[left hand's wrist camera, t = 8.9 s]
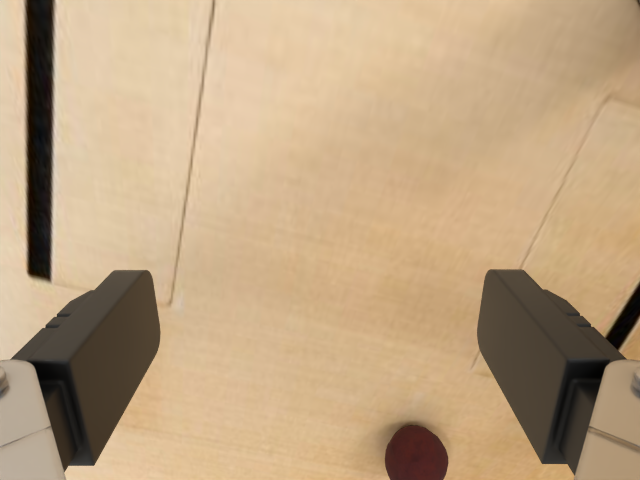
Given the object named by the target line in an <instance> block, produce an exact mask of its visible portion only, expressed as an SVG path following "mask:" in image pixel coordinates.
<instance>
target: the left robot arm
mask: <svg viewBox="0 0 640 480" xmlns="http://www.w3.org/2000/svg"><path fill="white" fill-rule="evenodd" d="M638 1H639V3H640V0H638ZM477 337H478V344H479V348H480V351H481V353H482V355H483V357H484V359H485V361H486V363H487V364H488V366H489V368H490V370H491V372H492V374H493V375H494V377H495V379H496V381H497V383H498V384H499V386H500V388H501V390H502V392H503V394H504V395H505V397H506V399H507V401H508V403H509V404H510V406H511V408H512V410H513V412H514V414H515V415H516V417H517V419H518V421H519V423H520V424H521V426H522V428H523V430H524V432H525V433H526V435H527V437H528V439H529V441H530V443H531V444H532V446H533V448H534V450H535V452H536V453H537V455H538V457H539V459H540V461H541V463H542V464H568V466H569V467H570V469H571V470H572V472H573V474H574V475H575V477H574V480H640V361H639V360H627V359H626V358H625V357H624V356H623V355H622V354H621V353H620V352H619V351H618V350H617V349H616V348H615V347H614V346H613V345H612V344H611V343H609V342H608V341H607V340H606V339H605V338H604V337H603V336H602V335H601V334H600V333H599V332H598V331H597V330H596V329H595V328H594V327H591V324H590V323H589V322H588V321H587V320H586V319H585V318H584V317H583V316H580V313H579V312H578V311H577V310H576V309H575V308H574V307H573V306H572V305H571V304H570V303H568V302H567V301H566V300H564V299H563V298H561V297H559V296H557V295H555V294H553V293H552V292H550V291H548V290H543V289H542V288H541V287H540V286H539V285H538V284H537V283H536V282H535V281H534V280H533V279H532V278H531V277H530V276H529V275H528V274H527V273H526V272H525V271H524V270H489V271H488V272H487V274H486V276H485V280H484V287H483V293H482V300H481V307H480V314H479V320H478V328H477ZM159 343H160V324H159V317H158V311H157V304H156V297H155V291H154V284H153V279H152V276H151V274H150V272H149V271H148V270H115V271H113V272H112V273H111V274H110V275H109V276H108V277H107V278H106V279H105V280H104V281H103V282H102V283H101V284H100V285H99V286H98V287H97V288H96V289H95V290H91V291H89V292H87V293H85V294H83V295H81V296H79V297H78V298H76V299H74V300H72V301H70V302H69V303H68V304H67V305H66V306H65V307H64V308H63V309H62V310H61V311H60V312H59V313H58V314H57V317H54V318H53V319H52V320H51V321H50V322H49V323H48V324H46V328H42V329H41V330H40V331H39V332H38V333H37V334H36V335H35V336H34V337H33V338H32V339H31V340H30V341H29V342H28V343H27V344H26V345H25V346H24V347H23V348H22V349H21V350H20V351H19V352H18V353H17V354H15V355H14V356H13V357H12V358H11V359H10V360H1V361H0V480H66V477H65V474H64V472H65V470H66V469H67V467H68V466H94V465H95V463H96V461H97V459H98V458H99V456H100V454H101V452H102V450H103V449H104V447H105V445H106V443H107V442H108V440H109V438H110V436H111V434H112V433H113V431H114V429H115V427H116V425H117V424H118V422H119V420H120V418H121V416H122V415H123V413H124V411H125V409H126V407H127V406H128V404H129V402H130V400H131V398H132V397H133V395H134V393H135V391H136V389H137V388H138V386H139V384H140V382H141V380H142V379H143V377H144V375H145V373H146V372H147V370H148V368H149V366H150V364H151V363H152V361H153V359H154V357H155V355H156V353H157V351H158V347H159Z"/></svg>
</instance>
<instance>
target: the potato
mask: <svg viewBox="0 0 640 480" xmlns="http://www.w3.org/2000/svg"><path fill="white" fill-rule="evenodd" d="M385 466H386V470H387V473H388V476H389V478H390V480H443V479H444V477H445V475H446V472H447V467H448V455H447V452H446V449H445V447H444V446H443V444H442V442H441V441H440V439H439V438H438V437H437V436H436V435H434V434H433V433H432V432H430V431H429V430H427V429H426V428H424V427H420V426H407V427H404V428H401V429H400V430H399V431H398V432H396V433H395V435H394V436H393V437H392V439H391V441H390V442H389V444H388V446H387V449H386V454H385Z"/></svg>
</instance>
